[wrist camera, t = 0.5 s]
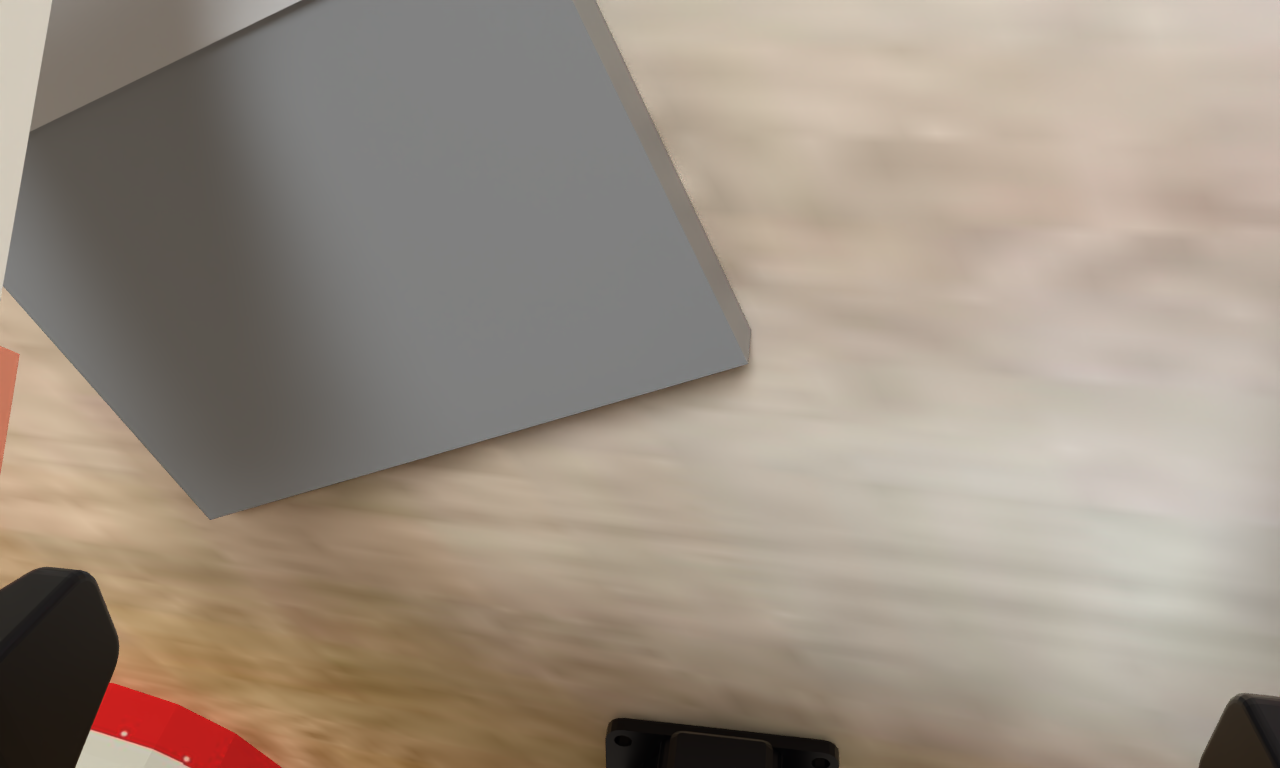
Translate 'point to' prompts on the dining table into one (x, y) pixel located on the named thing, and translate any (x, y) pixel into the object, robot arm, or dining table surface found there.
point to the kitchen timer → (161, 737)
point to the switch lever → (15, 141)
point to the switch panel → (354, 231)
